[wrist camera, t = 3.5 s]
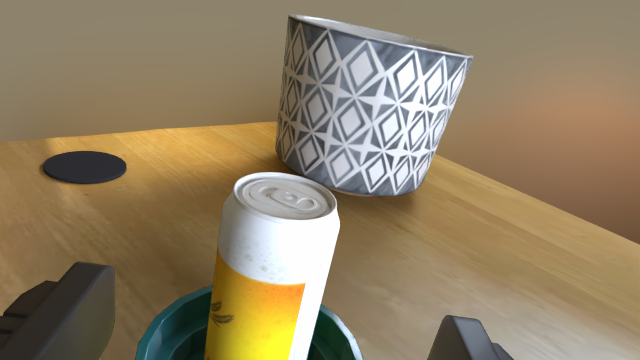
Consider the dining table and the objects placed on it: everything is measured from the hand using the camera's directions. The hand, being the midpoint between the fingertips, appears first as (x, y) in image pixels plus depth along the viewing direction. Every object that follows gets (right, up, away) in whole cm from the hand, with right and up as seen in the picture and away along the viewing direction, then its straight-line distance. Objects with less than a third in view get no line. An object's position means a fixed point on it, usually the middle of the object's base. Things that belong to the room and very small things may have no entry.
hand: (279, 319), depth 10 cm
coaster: (-28, +5, +42) cm, 51 cm away
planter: (+5, +4, +57) cm, 58 cm away
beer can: (-4, -11, +17) cm, 20 cm away
